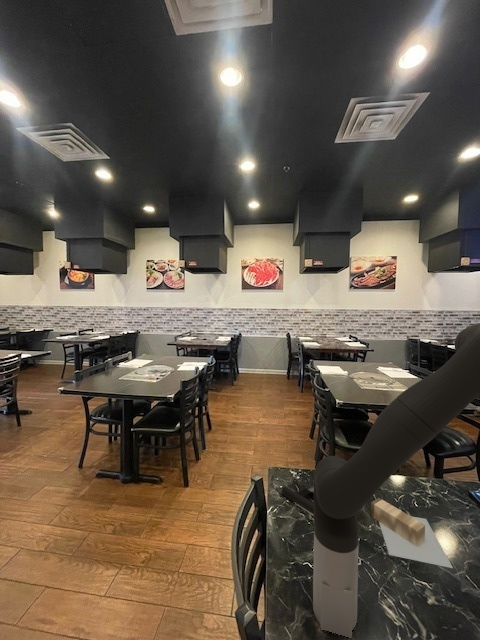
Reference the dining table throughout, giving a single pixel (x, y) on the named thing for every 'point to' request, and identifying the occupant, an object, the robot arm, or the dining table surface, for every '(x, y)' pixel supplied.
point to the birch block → (398, 521)
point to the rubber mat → (424, 552)
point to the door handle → (301, 498)
